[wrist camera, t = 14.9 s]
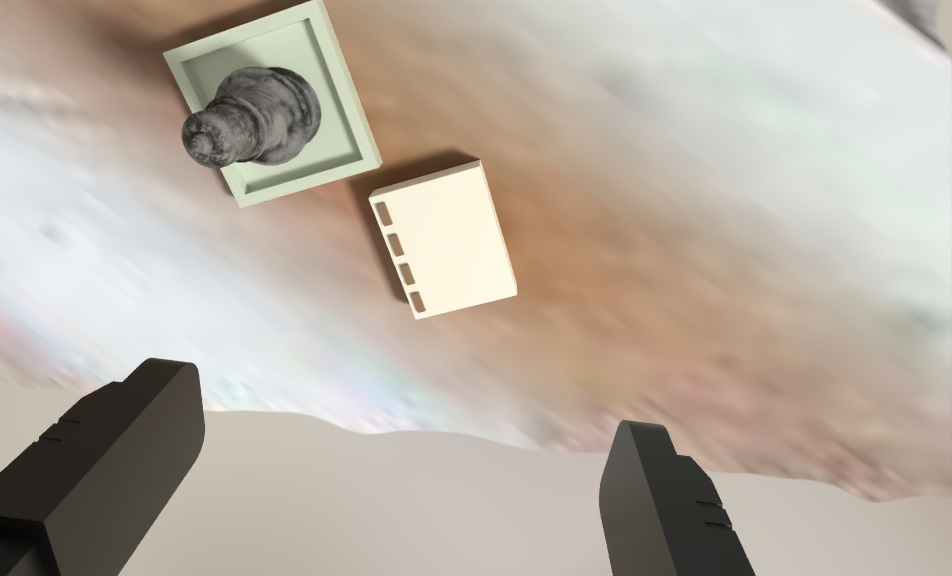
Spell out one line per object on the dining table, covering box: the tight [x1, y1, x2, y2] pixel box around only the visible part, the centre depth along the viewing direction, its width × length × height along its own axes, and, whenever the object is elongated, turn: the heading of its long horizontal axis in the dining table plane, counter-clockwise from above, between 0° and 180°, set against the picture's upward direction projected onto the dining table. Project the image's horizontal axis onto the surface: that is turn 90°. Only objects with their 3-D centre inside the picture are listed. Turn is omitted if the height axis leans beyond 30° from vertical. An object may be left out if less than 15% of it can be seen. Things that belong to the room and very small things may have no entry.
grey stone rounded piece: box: [182, 67, 322, 168], centre depth 31 cm, size 6×6×12 cm
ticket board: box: [369, 160, 517, 319], centre depth 40 cm, size 10×8×2 cm
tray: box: [162, 0, 383, 208], centre depth 36 cm, size 11×11×2 cm
